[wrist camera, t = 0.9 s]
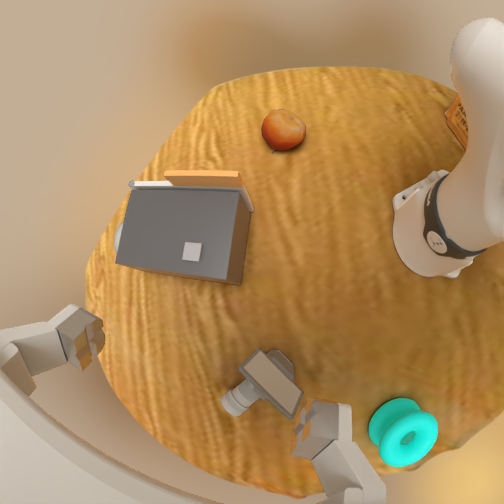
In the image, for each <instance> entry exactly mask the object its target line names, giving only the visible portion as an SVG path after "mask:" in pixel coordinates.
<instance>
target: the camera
mask: <svg viewBox="0 0 504 504" xmlns="http://www.w3.org/2000/svg"><path fill="white" fill-rule="evenodd" d="M238 370H239V371H240V372H241V373H242V374H243V376H244V377H245V378H246V379H245V380H244V381H243V382H242V383H241V384H239V385H238V386H237V387H236V388H232V389H230V390H229V391H228V392H227V393H225V394H224V395H223V396H222V397H221V398H220V402H221V404H222V406H223V407H224V409H225V410H226V411H227V412H228V413H229V414H231V415H232V416H235V417H238V416H240V415H241V414H242V413H244V412H245V411H246V410H248V409H249V408H250V405H251V404H253V403H254V402H255V401H256V400H258V399H259V398H260V397H261V398H262V399H263V400H267V399H268V400H269V401H270V402H271V403H272V404H273V405H274V406H275V407H276V408H277V409H278V410H279V411H280V412H281V413H282V414H283V415H284V416H286V417H287V418H288V419H291V420H292V419H293V418H294V416H295V414H296V411H297V409H298V406H299V404H300V401H301V398H302V396H303V393H304V392H303V391H302V390H301V389H300V388H299V387H298V386H297V385H296V384H295V383H294V367H293V363H291V362H290V361H289V360H288V359H287V358H286V357H285V356H284V355H283V354H282V353H281V352H280V350H277V349H271V350H270V351H269V352H268V353H267V354H265V353H264V352H263V351H262V350H261V349H260V348H258V349H257V350H256V351H255V352H254V353H253V354H252V355H251V356H249V357H248V358H247V359H246V360H245V361H244V362H243V363H242V364H241V365H240V366H239V367H238Z"/></svg>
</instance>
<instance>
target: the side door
mask: <svg viewBox="0 0 504 504" xmlns="http://www.w3.org/2000/svg"><path fill="white" fill-rule="evenodd" d="M164 177H165V178H166V179H167V180H168V181H133V180H132V181H130V182H129V187H130V188H132V189H133V190H189V191H218V192H239V193H240V195H241V197H242V199H243V201H244V203H245V205H246V207H247V209H248V211H249V212H254V206H253V204H252V202H251V199H250V197H249V195H248V192H247V190H246V188H245V185H244V183H243V180H242V178H241V176H240V174H239V171H215V170H171V171H165V173H164Z"/></svg>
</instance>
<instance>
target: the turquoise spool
mask: <svg viewBox="0 0 504 504" xmlns="http://www.w3.org/2000/svg"><path fill="white" fill-rule="evenodd" d="M413 435H414V436H413ZM437 435H438V423H437V421H436V419H435V417H434V416H433V415H431V414H430V413H428V412H425V411H421V410H420V408H419V406H418V404H417V403H416V402H414V401H413V400H411V399H408V398H397V399H393V400H391V401H389V402H387V403H385V404H384V405H382V406H381V407H380V408H379V409H378V410H377V411H376V412H375V414H374V415H373V417H372V419H371V421H370V424H369V437H370V439H371V441H372V442H373V443H374V444H375V445H377V446H379V454H380V457H381V459H382V460H383V461H384V462H385V463H386V464H388V465H390V466H394V467H402V466H407V465H410V464H413V463H415V462H416V461H418V460H420V459H421V458H422V457H424V456H425V455H426V454H427V453H428V452H429V450H430V449H431V448H432V446H433V445H434V443H435V441H436V438H437ZM412 437H413V438H412ZM411 438H412V439H411ZM409 439H411V440H410V441H409V442H407V441H408V440H409ZM406 442H407V443H406Z"/></svg>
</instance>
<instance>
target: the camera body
mask: <svg viewBox="0 0 504 504" xmlns="http://www.w3.org/2000/svg"><path fill="white" fill-rule="evenodd" d="M250 217H251V215H250V213H249V211H248V209H247V207H246V205H245V203H244V201H243V199H242V197H241V195H240V193H239V192H218V191H189V190H132V191H131V194H130V198H129V202H128V206H127V210H126V214H125V218H124V221H123V222H122V223H121V224H120V225H119V226H118V228H117V230H116V233H115V238H114V247H115V252H116V254H117V256H116V262H115V263H116V264H120V265H123V266H127V267H130V268H134V269H138V270H141V271H145V272H150V273H157V274H163V275H170V276H176V277H183V278H190V279H197V280H204V281H211V282H218V283H226V284H233V285H241V282H242V274H243V267H244V260H245V252H246V245H247V238H248V231H249V224H250Z"/></svg>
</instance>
